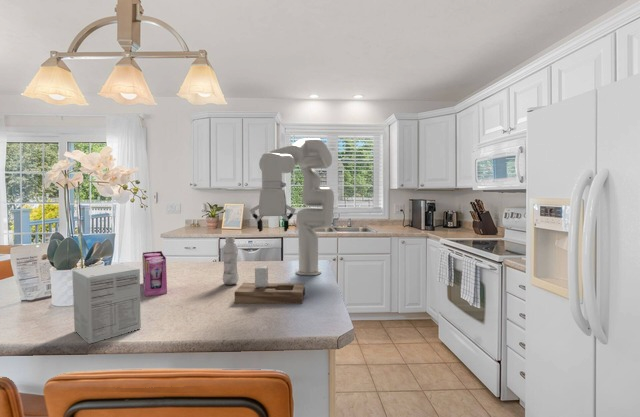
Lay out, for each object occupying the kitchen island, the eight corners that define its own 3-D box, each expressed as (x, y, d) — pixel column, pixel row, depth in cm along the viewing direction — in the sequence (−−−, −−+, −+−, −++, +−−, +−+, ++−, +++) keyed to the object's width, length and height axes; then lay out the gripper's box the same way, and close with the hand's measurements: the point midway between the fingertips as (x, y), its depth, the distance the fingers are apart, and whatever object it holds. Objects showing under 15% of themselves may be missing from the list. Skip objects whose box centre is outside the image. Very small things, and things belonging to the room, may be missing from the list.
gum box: (168, 294, 130) (167, 259, 130) (144, 297, 126) (144, 261, 126) (162, 281, 151) (162, 250, 150) (142, 283, 147) (142, 252, 146)
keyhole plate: (243, 293, 131) (243, 283, 131) (304, 293, 131) (304, 283, 130) (234, 303, 120) (234, 291, 119) (302, 303, 119) (302, 292, 119)
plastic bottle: (236, 286, 142) (235, 238, 141) (220, 286, 142) (219, 238, 141) (240, 282, 148) (239, 236, 147) (225, 282, 148) (224, 236, 147)
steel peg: (257, 296, 128) (256, 265, 127) (268, 296, 127) (268, 265, 127) (254, 299, 123) (254, 268, 123) (266, 299, 123) (266, 268, 122)
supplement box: (142, 329, 96) (141, 268, 96) (88, 345, 86) (86, 277, 86) (124, 318, 105) (122, 262, 104) (73, 331, 95) (71, 270, 94)
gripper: (296, 185, 131) (296, 229, 132) (252, 186, 132) (253, 229, 133) (293, 186, 123) (294, 232, 125) (246, 186, 124) (248, 232, 125)
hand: (273, 231), depth 129 cm, fingers open, 9 cm apart
